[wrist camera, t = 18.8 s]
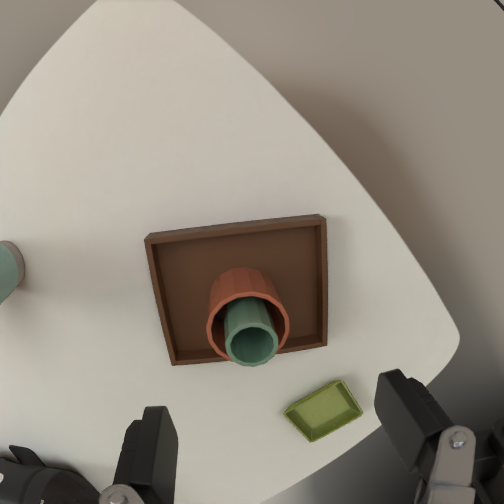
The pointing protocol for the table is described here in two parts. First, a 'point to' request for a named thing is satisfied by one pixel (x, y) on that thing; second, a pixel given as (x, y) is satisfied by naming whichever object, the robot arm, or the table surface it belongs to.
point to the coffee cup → (10, 269)
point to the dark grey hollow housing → (38, 480)
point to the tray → (235, 256)
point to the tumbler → (243, 285)
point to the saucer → (324, 411)
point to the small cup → (249, 331)
